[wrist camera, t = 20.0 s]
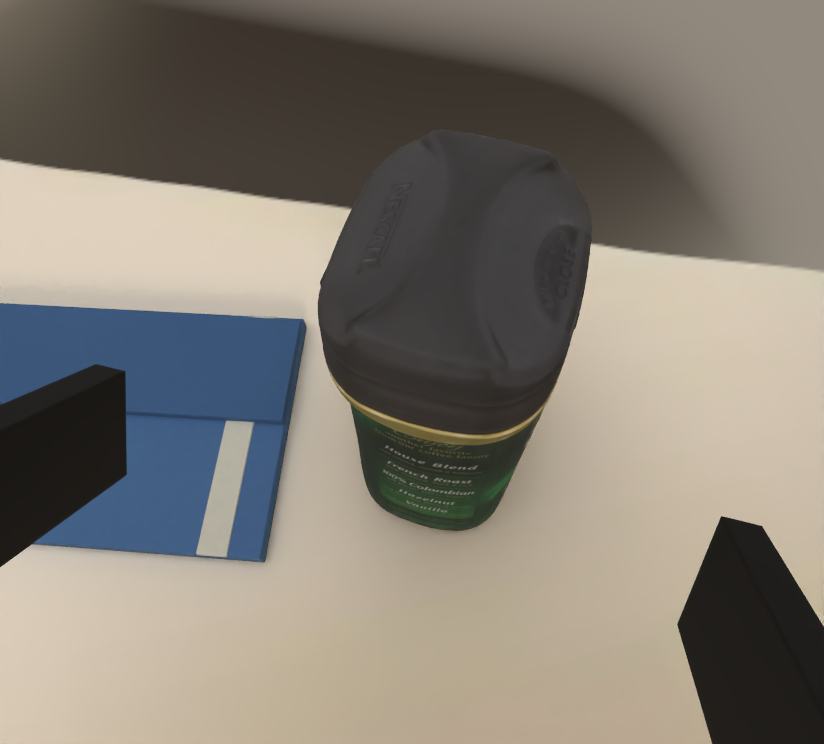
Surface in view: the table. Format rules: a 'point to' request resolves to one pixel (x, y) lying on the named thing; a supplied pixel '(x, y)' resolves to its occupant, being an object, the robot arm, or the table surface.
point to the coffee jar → (453, 317)
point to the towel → (172, 421)
